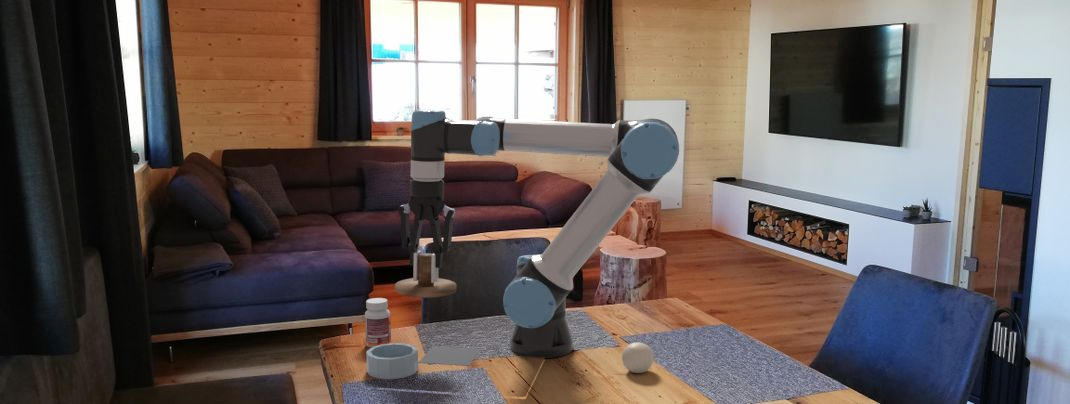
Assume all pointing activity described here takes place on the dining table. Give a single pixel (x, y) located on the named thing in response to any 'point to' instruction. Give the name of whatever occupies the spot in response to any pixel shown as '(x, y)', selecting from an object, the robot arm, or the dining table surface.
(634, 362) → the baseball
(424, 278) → the lid
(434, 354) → the mat
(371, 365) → the bowl
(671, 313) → the dining table surface
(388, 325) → the pill bottle
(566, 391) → the dining table surface
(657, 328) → the dining table surface
